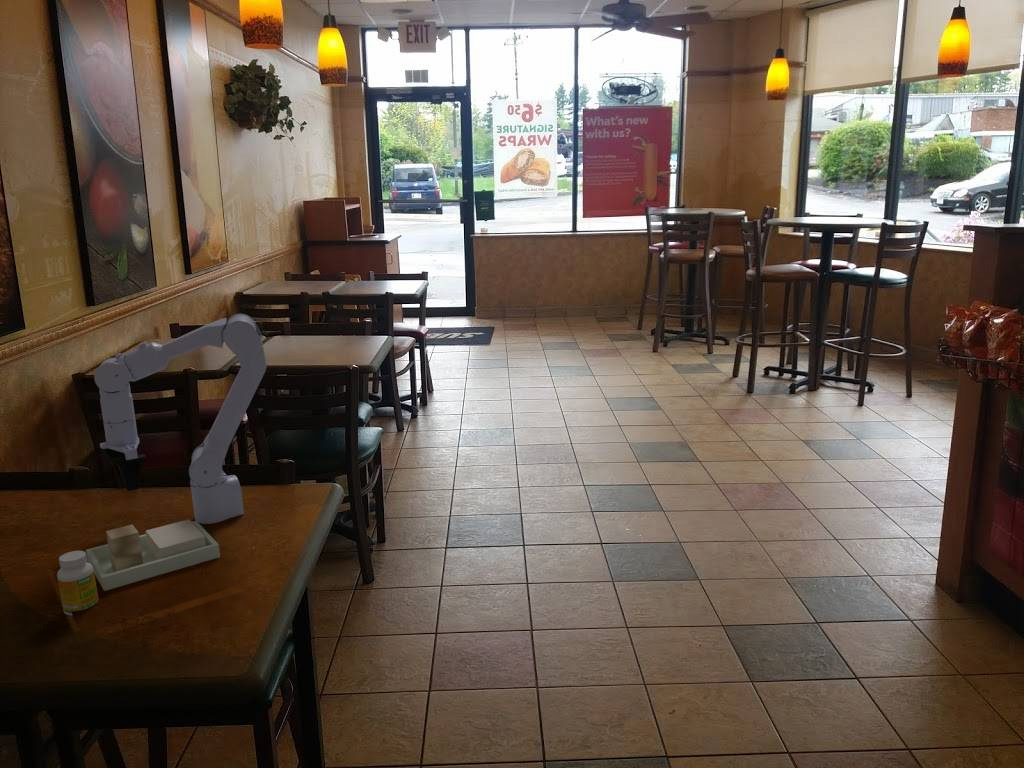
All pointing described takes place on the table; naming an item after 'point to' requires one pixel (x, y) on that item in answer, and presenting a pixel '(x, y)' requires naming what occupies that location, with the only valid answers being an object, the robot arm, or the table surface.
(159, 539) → the light gray block
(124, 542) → the maple block
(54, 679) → the table surface
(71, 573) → the supplement bottle
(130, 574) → the pale green tray
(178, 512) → the table surface
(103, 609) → the table surface
